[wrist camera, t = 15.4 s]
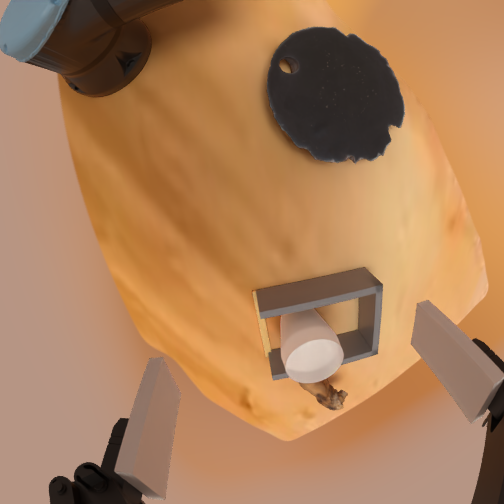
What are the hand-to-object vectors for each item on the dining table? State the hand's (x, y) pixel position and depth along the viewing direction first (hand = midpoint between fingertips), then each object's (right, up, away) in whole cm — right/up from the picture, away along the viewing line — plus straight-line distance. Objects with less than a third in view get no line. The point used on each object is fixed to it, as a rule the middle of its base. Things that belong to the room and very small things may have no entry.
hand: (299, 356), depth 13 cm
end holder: (+9, -6, +35) cm, 37 cm away
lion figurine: (+10, -19, +40) cm, 46 cm away
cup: (+6, -7, +35) cm, 37 cm away
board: (+10, +29, +23) cm, 38 cm away
